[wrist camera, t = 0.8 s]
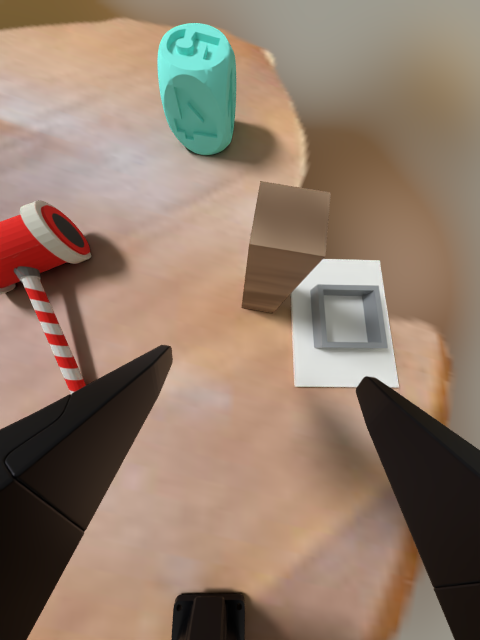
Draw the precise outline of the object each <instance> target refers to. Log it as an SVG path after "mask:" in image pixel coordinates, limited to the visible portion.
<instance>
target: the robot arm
mask: <svg viewBox="0 0 480 640" xmlns="http://www.w3.org/2000/svg"><path fill="white" fill-rule="evenodd" d="M172 360H173V358H172V348H171V346H167V345H160V346H158V347H157V348H155V349H153V350H151V351H149V352H147V353H145V354H144V355H142V356H140V357H138V358H136V359H134V360H132V361H131V362H129V363H127V364H125V365H123V366H121V367H119V368H118V369H116V370H114V371H112V372H110V373H108V374H106V375H105V376H103V377H101V378H99V379H97V380H95V381H93V382H92V383H90V384H88V385H86V386H84V387H82V388H80V389H79V390H77V391H75V392H73V393H72V394H69V395H67V396H65V397H64V398H62V399H60V400H58V401H56V402H54V403H52V404H50V405H49V406H47V407H45V408H43V409H41V410H39V411H37V412H35V413H33V414H31V415H29V416H27V417H25V418H23V419H21V420H19V421H17V422H15V423H13V424H11V425H9V426H7V427H5V428H2V429H0V640H27V638H28V636H29V634H30V632H31V630H32V629H33V627H34V625H35V623H36V621H37V619H38V617H39V616H40V614H41V612H42V610H43V608H44V606H45V605H46V603H47V601H48V599H49V597H50V595H51V594H52V592H53V590H54V588H55V586H56V584H57V582H58V581H59V579H60V577H61V575H62V573H63V571H64V570H65V568H66V566H67V564H68V562H69V560H70V558H71V557H72V555H73V553H74V551H75V549H76V547H77V546H78V544H79V542H80V540H81V538H82V536H83V535H84V531H85V530H86V529H87V527H88V525H89V523H90V521H91V519H92V518H93V516H94V514H95V512H96V510H97V508H98V507H99V505H100V503H101V501H102V499H103V497H104V496H105V494H106V492H107V490H108V488H109V486H110V484H111V483H112V481H113V479H114V477H115V475H116V473H117V472H118V470H119V468H120V466H121V464H122V462H123V460H124V459H125V457H126V455H127V453H128V451H129V449H130V448H131V446H132V444H133V442H134V440H135V438H136V437H137V435H138V433H139V431H140V429H141V427H142V425H143V424H144V422H145V420H146V418H147V416H148V414H149V413H150V411H151V409H152V407H153V405H154V403H155V402H156V400H157V398H158V396H159V394H160V391H161V389H162V387H163V384H164V382H165V379H166V377H167V374H168V372H169V370H170V367H171V365H172ZM356 394H357V397H358V400H359V404H360V407H361V410H362V413H363V417H364V420H365V423H366V426H367V429H368V431H369V434H370V436H371V438H372V441H373V443H374V446H375V448H376V450H377V453H378V455H379V458H380V460H381V463H382V465H383V467H384V470H385V472H386V475H387V477H388V479H389V482H390V484H391V487H392V489H393V491H394V494H395V496H396V499H397V501H398V504H399V506H400V508H401V511H402V513H403V516H404V518H405V520H406V523H407V525H408V528H409V530H410V532H411V535H412V537H413V540H414V542H415V544H416V547H417V549H418V552H419V554H420V557H421V559H422V561H423V564H424V566H425V569H426V571H427V573H428V576H429V578H430V580H431V583H432V585H433V587H434V591H435V593H436V596H437V598H438V600H439V603H440V605H441V608H442V610H443V612H444V615H445V617H446V620H447V622H448V625H449V627H450V629H451V632H452V634H453V637H454V639H455V640H480V450H479V449H477V448H476V447H474V446H473V445H472V444H470V443H469V442H467V441H466V440H464V439H463V438H461V437H460V436H459V435H457V434H456V433H454V432H453V431H451V430H450V429H449V428H447V427H446V426H444V425H443V424H441V423H440V422H439V421H437V420H436V419H434V418H433V417H431V416H430V415H429V414H427V413H426V412H424V411H423V410H421V409H420V408H419V407H417V406H416V405H414V404H413V403H411V402H410V401H409V400H407V399H406V398H404V397H403V396H401V395H400V394H399V393H397V392H396V391H394V390H393V389H391V388H390V387H388V386H387V385H386V384H384V383H383V382H381V381H380V380H378V379H377V378H375V377H369V376H365V377H364V378H363V379H362V380H361V382H360V383H359V385H358V386H357V388H356ZM238 603H240V604H238ZM179 604H180V605H179ZM244 635H245V602H244V597H243V595H241V594H194V595H179V596H177V598H176V600H175V604H174V609H173V625H172V640H244Z"/></svg>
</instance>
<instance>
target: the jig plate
mask: <svg viewBox="0 0 480 640" xmlns="http://www.w3.org/2000/svg"><path fill="white" fill-rule="evenodd" d="M290 298H291V320H292V342H293V364H294V386H296V387H357V386H358V385H359V383H360V382H361V380H362V379H363V378H364V377H365V376H369V377H375V378H377V379H378V380H380V381H381V382H383V383H384V384H386V385H387V386H388V387H399V384H398V378H397V371H396V364H395V358H394V351H393V345H392V338H391V332H390V325H389V319H388V312H387V306H386V299H385V292H384V286H383V280H382V273H381V266H380V261H379V260H339V259H322V261H321V262H320V263H319V264H318V265H317V266H316V267H315V268H314V269H313V270H312V271H311V272H310V273H309V275H308V276H307V277H306V278H305V279H304V280H303V281H302V282H301V283H300V284H299V285H298V286H297V287H296V289H295V290H294V291H293V292H292V293H291V294H290Z"/></svg>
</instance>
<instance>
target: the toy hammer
mask: <svg viewBox="0 0 480 640" xmlns="http://www.w3.org/2000/svg"><path fill="white" fill-rule="evenodd" d="M20 214H21V215H18V216H15V217H12V218H10V219H7V220H4V221H1V222H0V295H1V294H4V293H6V292H9V291H11V290H13V289H14V288H15V287H16V286H15V283H17V282H19V281H22V282H23V285H24V287H25V289H26V292H27V294H28V296H29V298H30V301H31V303H32V305H33V308H34V310H35V312H36V315H37V317H38V319H39V321H40V324H41V326H42V328H43V331H44V333H45V335H46V337H47V340H48V342H49V344H50V347H51V349H52V351H53V354H54V356H55V358H56V360H57V363H58V365H59V367H60V370H61V372H62V374H63V377H64V379H65V381H66V383H67V386H68V388H69V390H70V393H71V394H72V393H73V392H75V391H77V390H79V389H80V388H82V387H84V386H86V384H85V382H84V379H83V377H82V375H81V373H80V370H79V368H78V366H77V364H76V361H75V359H74V357H73V354H72V352H71V350H70V348H69V345H68V343H67V341H66V339H65V336H64V334H63V332H62V329H61V327H60V325H59V323H58V320H57V318H56V316H55V314H54V311H53V309H52V307H51V305H50V302H49V300H48V298H47V295H46V293H45V291H44V289H43V286H42V284H41V282H40V279H41V277H40V273H42V272H44V271H47V270H49V269H52V268H54V267H57V266H59V265H61V264H64V263H66V262H69V263H73V264H77V263H80V262H82V261H85V260H87V259H89V258H91V253H90V247H89V244H88V242H87V240H86V239H85V237H84V236H83V234H82V233H81V231H80V230H79V229H78V228H77V227H76V225H75V224H74V223H73V222H72V221H71V220H70V219H69V218H68V217H67V216H65V215H64V214H63V213H62V212H61V211H59V210H58V209H56V208H55V207H53V206H52V205H50V204H48V203H47V202H44V201H39V200H38V201H36V202H33V203H30V204H27V205H25V206H22V207H21V209H20Z"/></svg>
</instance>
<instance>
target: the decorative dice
mask: <svg viewBox="0 0 480 640" xmlns="http://www.w3.org/2000/svg"><path fill="white" fill-rule="evenodd" d="M158 80H159V88H160V94H161V100H162V104H163V109H164V112H165V116H166V119H167V122H168V124H169V127H170V129H171V130H172V132H173V133H174V135H175V136H176V137H177V139H178V140H179V141H180V142H181V143H182V144H183V145H184V146H185V147H186V148H188V149H189V150H191V151H192V152H194V153H197V154H201V155H213V154H216V153H219V152H221V151H223V150H224V149H225V148H226V147H227V146H228V145H229V144H230V142H231V140H232V135H233V129H234V120H235V107H236V63H235V55H234V52H233V50H232V48H231V45H230V44H229V42H228V40H227V39H226V37H225V36H224V34H223V33H222V32H220V31H219V30H218V29H216V28H214V27H212V26H209V25H205V24H199V23H189V24H183V25H179V26H177V27H174V28H172V29H171V30H169V31H168V32H167V33H166V34H165V35H164V36H163V38H162V40H161V42H160V45H159V50H158Z"/></svg>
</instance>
